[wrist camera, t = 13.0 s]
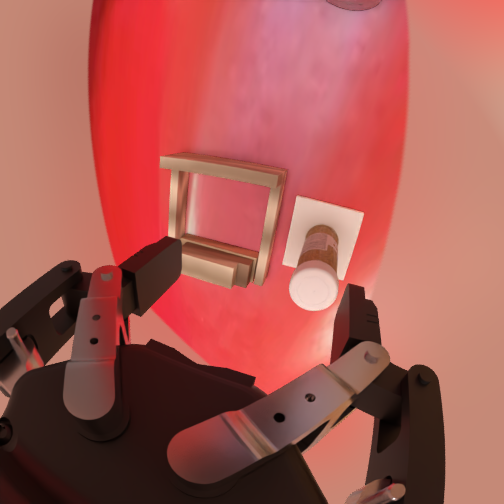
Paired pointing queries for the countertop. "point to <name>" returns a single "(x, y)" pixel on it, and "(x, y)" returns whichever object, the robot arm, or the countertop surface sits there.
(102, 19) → the countertop surface
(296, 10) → the countertop surface
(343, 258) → the cream mat
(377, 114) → the countertop surface
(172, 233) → the frame
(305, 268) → the sprinkles bottle
